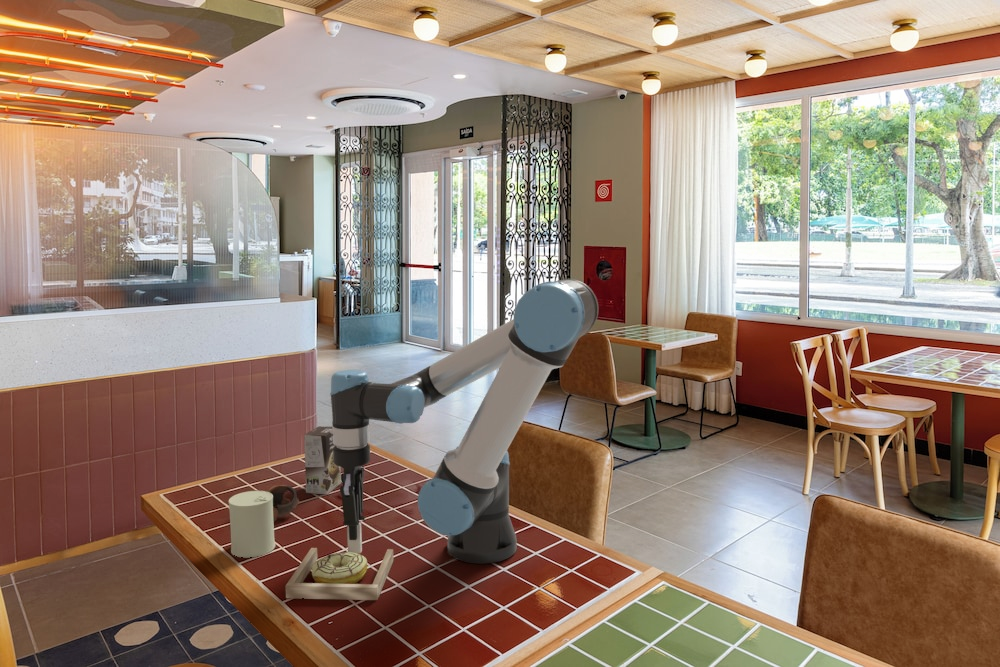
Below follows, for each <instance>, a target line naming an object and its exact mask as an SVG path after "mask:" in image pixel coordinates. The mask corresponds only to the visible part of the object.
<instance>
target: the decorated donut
mask: <svg viewBox="0 0 1000 667" xmlns="http://www.w3.org/2000/svg"><path fill="white" fill-rule="evenodd" d="M367 571H368V560H367V558H366V557H365V556H364V555H362V554H361V553H354V552H348V551H347V552H345V551H343V552H335V553H330V554H328V555H327V554H326V556H324V557H321V558H319V559H317V561H316V562H315V563H314V564H313V566H312V568H311V576H312V579H313V580H314V583H327V584H358V582H359V581H361V580H362V579H363V578H364V576H365V574H366V573H367Z"/></svg>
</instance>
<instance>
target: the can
mask: <svg viewBox="0 0 1000 667" xmlns="http://www.w3.org/2000/svg"><path fill="white" fill-rule="evenodd" d="M228 511H229V523H230V553H231V555H232V556H234V555H235V556H234V557H236V556H237V557H236V558H241V557H243V558H244V559H249V558H250V557H252V558H258V557H261V555H262V556H264V554H265V555H267V554H269V553H271V552H272V551H273V550H274V549H275V548H276V542H275V526H274V522H275V521H273V495H272V494H271V493H269V492H267V490H266V491H265V490H261V491H255V490H249V491H244V492H239V493H237V494H234V495H232V496H231V497H230V498H229V499H228ZM257 556H258V557H257ZM243 558H242V559H243Z"/></svg>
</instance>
